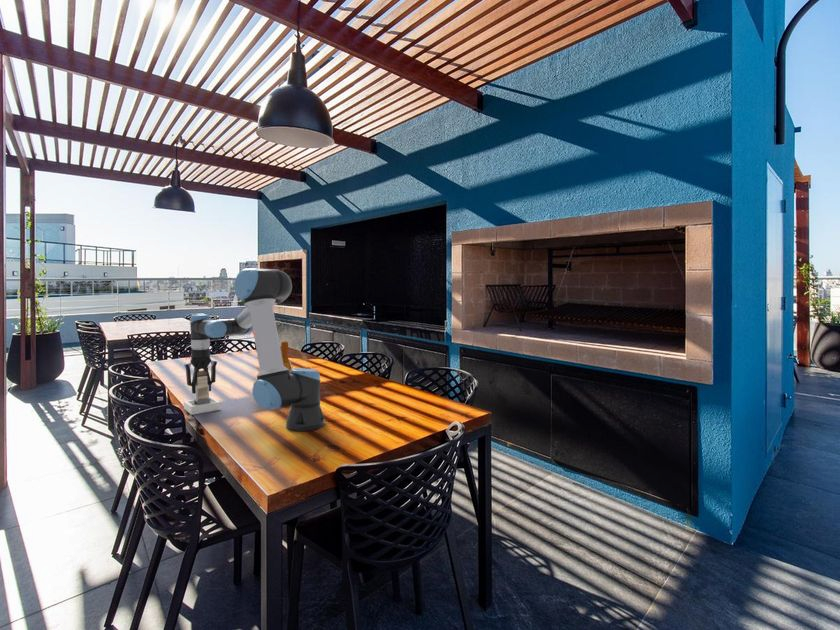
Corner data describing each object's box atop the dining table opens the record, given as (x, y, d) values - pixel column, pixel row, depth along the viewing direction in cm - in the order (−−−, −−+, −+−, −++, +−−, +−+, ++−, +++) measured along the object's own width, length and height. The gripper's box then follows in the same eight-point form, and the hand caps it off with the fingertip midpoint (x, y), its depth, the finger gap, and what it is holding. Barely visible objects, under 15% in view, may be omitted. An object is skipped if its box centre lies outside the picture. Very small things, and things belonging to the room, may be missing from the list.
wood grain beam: (207, 401, 194) (207, 371, 193) (198, 403, 191) (197, 372, 190) (205, 400, 197) (204, 370, 196) (195, 401, 194) (194, 371, 193)
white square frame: (220, 409, 194) (220, 398, 194) (191, 414, 186) (190, 403, 186) (211, 404, 203) (211, 393, 202) (184, 408, 195) (183, 398, 194)
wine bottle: (287, 406, 199) (286, 343, 197) (270, 404, 202) (269, 342, 200) (300, 401, 209) (299, 340, 207) (283, 399, 212) (282, 339, 210)
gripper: (217, 345, 201) (218, 394, 203) (177, 349, 189) (178, 400, 191) (223, 347, 195) (224, 397, 197) (181, 351, 184) (183, 404, 186)
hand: (201, 399), depth 194 cm, fingers closed on wood grain beam, 4 cm apart
